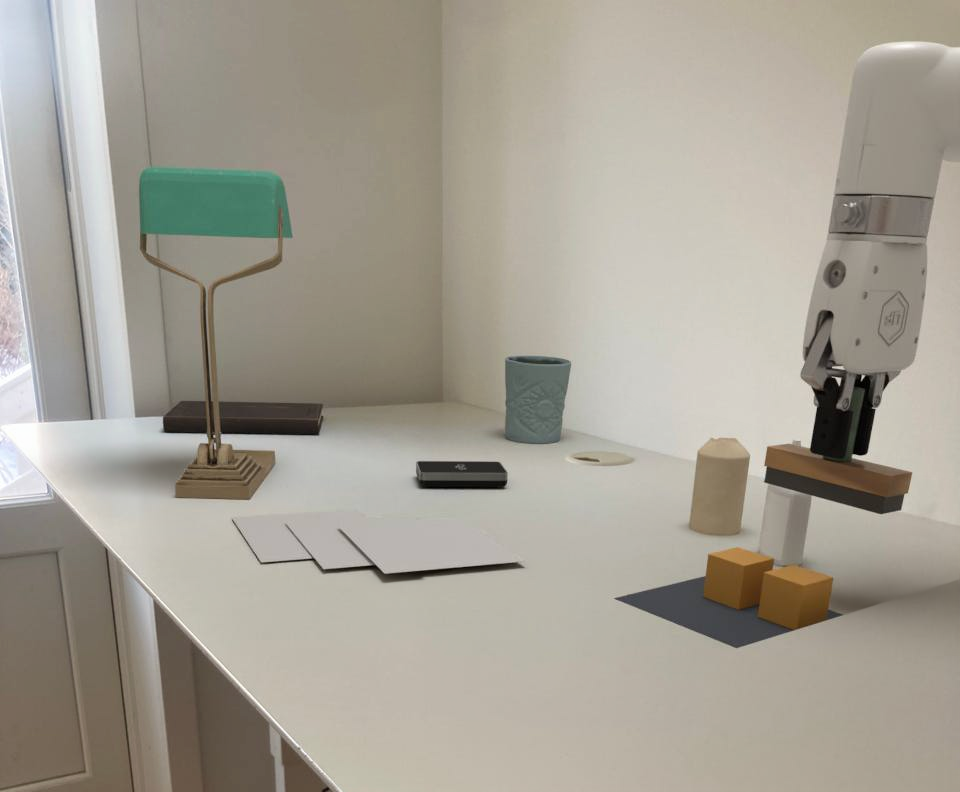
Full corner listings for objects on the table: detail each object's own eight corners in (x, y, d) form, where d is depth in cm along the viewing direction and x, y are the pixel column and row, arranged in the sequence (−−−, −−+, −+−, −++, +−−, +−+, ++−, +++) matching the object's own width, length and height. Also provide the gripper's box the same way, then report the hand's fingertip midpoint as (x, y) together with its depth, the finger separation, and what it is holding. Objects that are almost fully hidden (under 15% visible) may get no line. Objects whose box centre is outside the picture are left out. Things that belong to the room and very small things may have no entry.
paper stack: (279, 590, 89) (279, 582, 88) (231, 517, 110) (231, 511, 110) (525, 567, 97) (526, 560, 97) (436, 504, 118) (436, 498, 118)
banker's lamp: (143, 496, 118) (113, 161, 105) (185, 459, 137) (164, 172, 124) (281, 499, 118) (268, 166, 105) (304, 462, 138) (295, 177, 125)
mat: (719, 574, 98) (719, 572, 98) (889, 632, 84) (889, 630, 84) (613, 600, 90) (613, 598, 90) (782, 668, 76) (783, 666, 76)
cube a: (786, 608, 88) (793, 564, 87) (826, 622, 86) (834, 577, 84) (757, 617, 86) (763, 571, 85) (796, 631, 83) (804, 585, 82)
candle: (730, 540, 109) (742, 446, 105) (681, 531, 112) (691, 439, 108) (746, 529, 113) (758, 438, 110) (699, 520, 116) (709, 432, 112)
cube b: (732, 589, 93) (737, 546, 91) (768, 601, 90) (774, 558, 88) (702, 597, 91) (708, 553, 89) (738, 610, 88) (744, 565, 86)
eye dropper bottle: (754, 564, 101) (771, 443, 96) (758, 549, 106) (775, 433, 101) (800, 570, 100) (820, 447, 95) (802, 555, 105) (821, 437, 100)
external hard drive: (415, 476, 132) (415, 460, 131) (500, 476, 134) (501, 461, 133) (419, 488, 126) (419, 472, 125) (508, 489, 127) (509, 473, 126)
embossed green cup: (517, 430, 166) (521, 353, 161) (576, 437, 162) (581, 359, 157) (490, 439, 157) (493, 359, 153) (551, 447, 153) (556, 365, 149)
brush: (783, 478, 95) (800, 376, 91) (904, 511, 86) (928, 398, 82) (761, 482, 93) (778, 377, 90) (882, 515, 84) (906, 400, 81)
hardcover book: (181, 414, 168) (180, 400, 167) (323, 417, 171) (323, 403, 170) (163, 432, 154) (162, 417, 153) (318, 435, 156) (318, 420, 155)
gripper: (861, 219, 74) (818, 471, 81) (976, 228, 83) (929, 454, 90) (776, 217, 79) (742, 454, 86) (893, 226, 89) (854, 439, 95)
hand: (838, 452), depth 88 cm, fingers closed on brush, 2 cm apart
